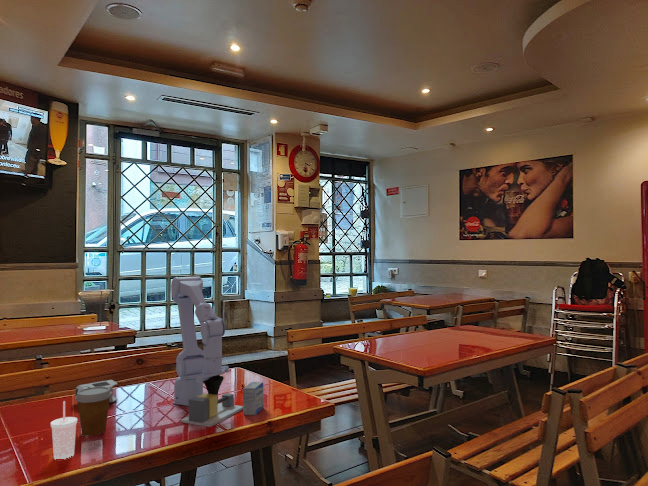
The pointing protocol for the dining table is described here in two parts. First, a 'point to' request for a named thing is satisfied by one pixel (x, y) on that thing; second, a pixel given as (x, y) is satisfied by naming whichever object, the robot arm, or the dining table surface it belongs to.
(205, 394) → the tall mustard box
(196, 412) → the grey board with rod
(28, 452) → the dining table surface
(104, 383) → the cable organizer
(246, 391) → the medicine box
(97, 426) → the disposable coffee cup
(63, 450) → the beverage cup
